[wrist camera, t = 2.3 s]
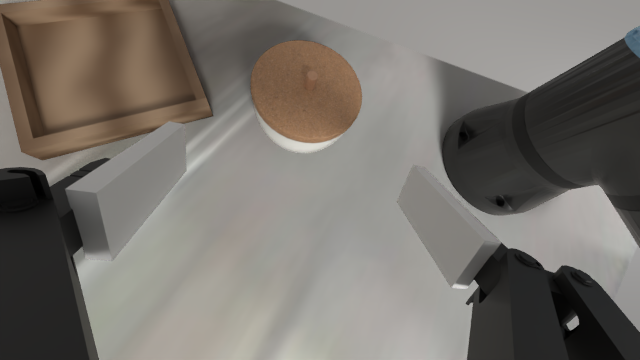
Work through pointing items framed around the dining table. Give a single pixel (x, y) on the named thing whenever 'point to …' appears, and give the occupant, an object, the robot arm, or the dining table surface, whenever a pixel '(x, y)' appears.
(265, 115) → the lidded jar
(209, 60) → the dining table surface
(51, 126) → the walnut tray
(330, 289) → the dining table surface
